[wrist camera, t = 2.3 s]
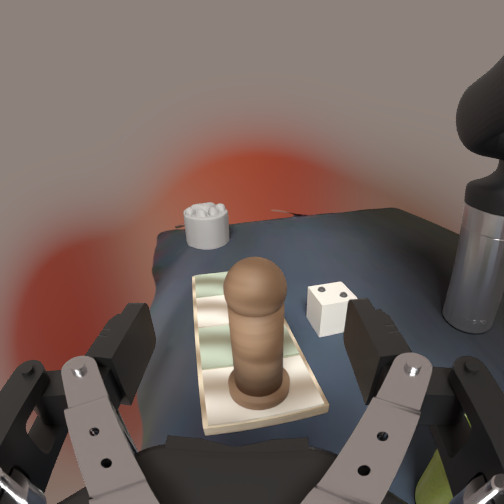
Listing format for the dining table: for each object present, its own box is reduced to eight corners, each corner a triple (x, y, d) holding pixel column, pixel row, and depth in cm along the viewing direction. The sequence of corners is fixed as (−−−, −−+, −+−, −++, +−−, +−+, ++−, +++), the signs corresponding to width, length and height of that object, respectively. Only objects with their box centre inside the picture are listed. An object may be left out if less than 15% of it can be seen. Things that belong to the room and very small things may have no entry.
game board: (193, 282, 53) (191, 275, 53) (259, 274, 55) (258, 267, 55) (205, 435, 24) (202, 427, 24) (327, 412, 26) (329, 403, 26)
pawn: (249, 361, 32) (241, 241, 27) (299, 378, 29) (305, 252, 24) (217, 395, 27) (197, 267, 22) (271, 418, 24) (270, 284, 19)
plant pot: (474, 442, 18) (516, 381, 15) (496, 516, 10) (559, 465, 6) (390, 461, 19) (424, 402, 16) (401, 550, 11) (456, 518, 8)
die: (306, 317, 42) (308, 283, 40) (337, 311, 43) (341, 278, 41) (319, 337, 38) (322, 302, 36) (352, 330, 39) (358, 295, 36)
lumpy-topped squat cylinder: (223, 229, 82) (220, 198, 78) (235, 245, 70) (233, 209, 67) (184, 235, 79) (181, 203, 75) (190, 252, 67) (186, 215, 64)
